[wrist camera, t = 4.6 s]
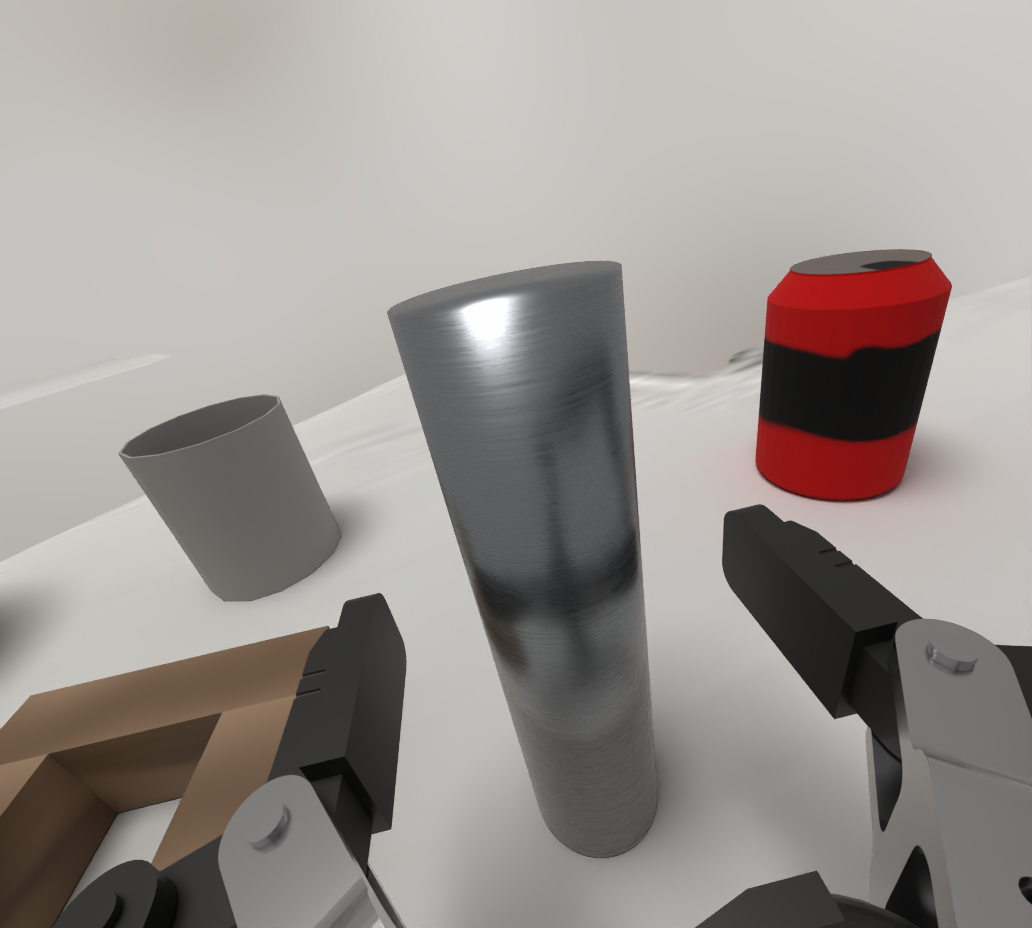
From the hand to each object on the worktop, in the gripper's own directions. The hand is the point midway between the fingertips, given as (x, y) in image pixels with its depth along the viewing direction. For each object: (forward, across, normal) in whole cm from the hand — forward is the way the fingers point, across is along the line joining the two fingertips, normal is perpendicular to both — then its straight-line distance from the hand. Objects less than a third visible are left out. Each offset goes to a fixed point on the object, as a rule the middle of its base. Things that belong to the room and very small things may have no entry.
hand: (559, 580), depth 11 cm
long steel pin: (0, 0, +10) cm, 10 cm away
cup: (+19, +17, +10) cm, 27 cm away
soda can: (+14, -19, +10) cm, 26 cm away
